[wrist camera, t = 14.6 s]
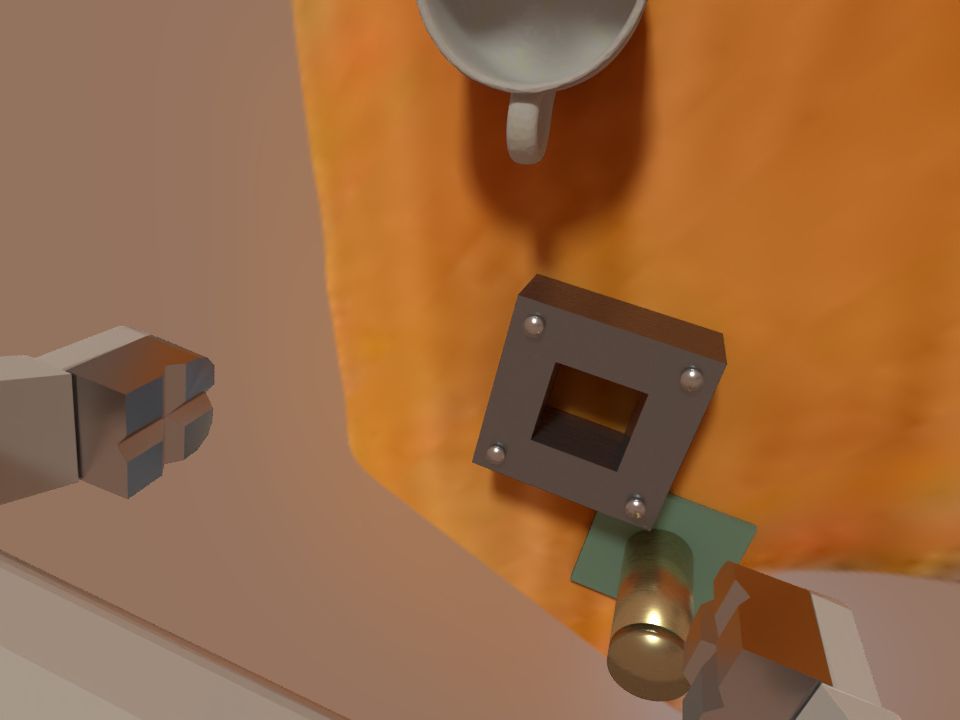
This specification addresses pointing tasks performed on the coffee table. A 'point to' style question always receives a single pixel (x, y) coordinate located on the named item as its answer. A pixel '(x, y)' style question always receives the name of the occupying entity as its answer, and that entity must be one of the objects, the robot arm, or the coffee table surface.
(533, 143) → the teacup
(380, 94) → the coffee table surface
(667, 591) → the plug
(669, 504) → the coaster
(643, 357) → the housing
